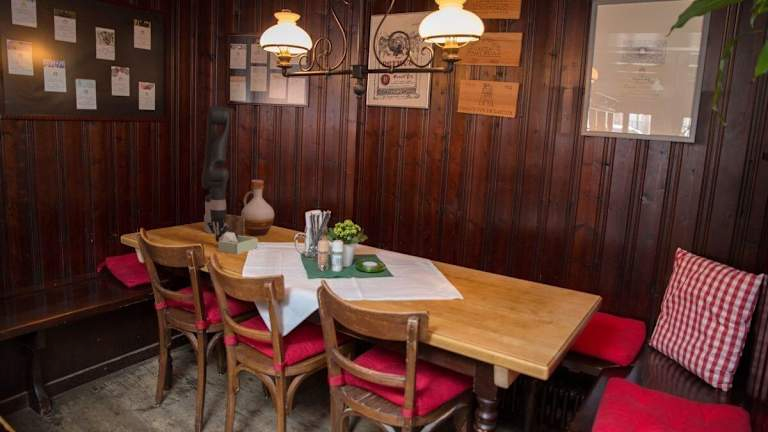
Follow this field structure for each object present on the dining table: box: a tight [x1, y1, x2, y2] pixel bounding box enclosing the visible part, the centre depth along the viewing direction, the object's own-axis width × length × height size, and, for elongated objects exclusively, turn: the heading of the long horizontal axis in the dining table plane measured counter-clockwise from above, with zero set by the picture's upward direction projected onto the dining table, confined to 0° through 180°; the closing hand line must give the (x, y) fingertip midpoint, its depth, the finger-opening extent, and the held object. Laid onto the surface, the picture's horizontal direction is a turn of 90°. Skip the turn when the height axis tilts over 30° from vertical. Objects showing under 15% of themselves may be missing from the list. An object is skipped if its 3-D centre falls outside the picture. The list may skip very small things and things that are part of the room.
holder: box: [217, 235, 259, 255], centre depth 281 cm, size 12×15×5 cm
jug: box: [240, 179, 275, 237], centre depth 315 cm, size 20×18×30 cm
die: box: [219, 232, 238, 243], centre depth 284 cm, size 8×9×10 cm
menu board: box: [225, 213, 246, 241], centre depth 295 cm, size 12×5×14 cm, turn 65°
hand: (218, 241), depth 287 cm, fingers closed
